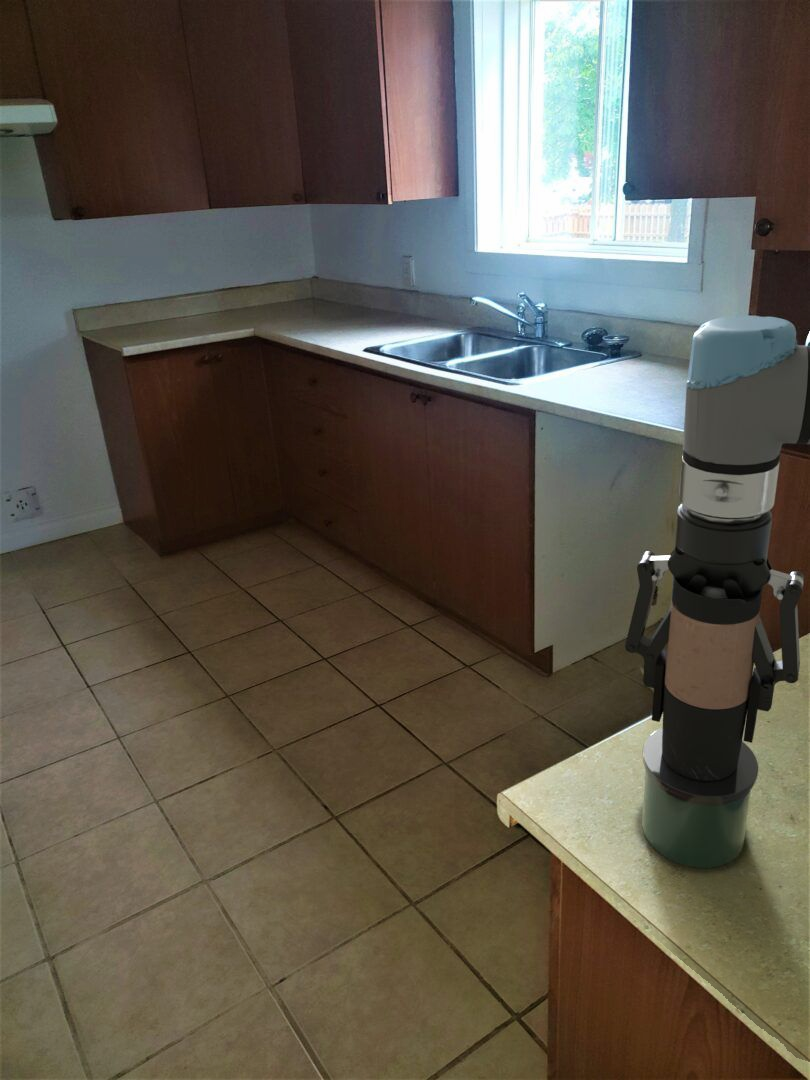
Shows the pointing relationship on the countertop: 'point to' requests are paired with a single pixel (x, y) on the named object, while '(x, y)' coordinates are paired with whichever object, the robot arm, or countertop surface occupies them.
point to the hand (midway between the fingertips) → (702, 722)
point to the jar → (695, 809)
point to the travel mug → (707, 680)
